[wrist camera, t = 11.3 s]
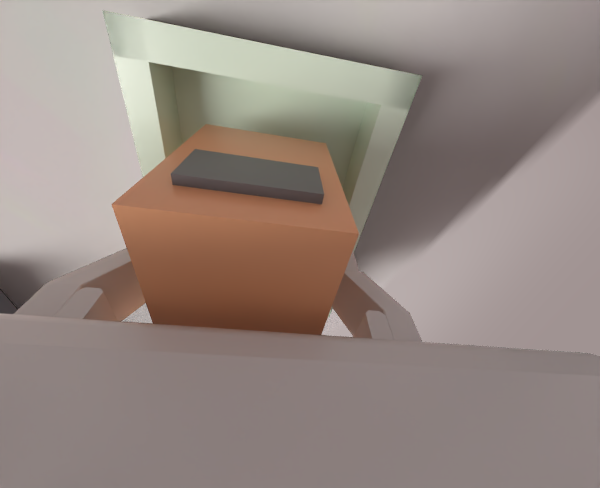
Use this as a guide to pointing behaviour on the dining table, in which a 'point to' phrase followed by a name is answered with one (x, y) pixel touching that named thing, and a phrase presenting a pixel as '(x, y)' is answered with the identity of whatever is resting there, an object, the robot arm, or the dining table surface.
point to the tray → (259, 98)
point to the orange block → (240, 233)
